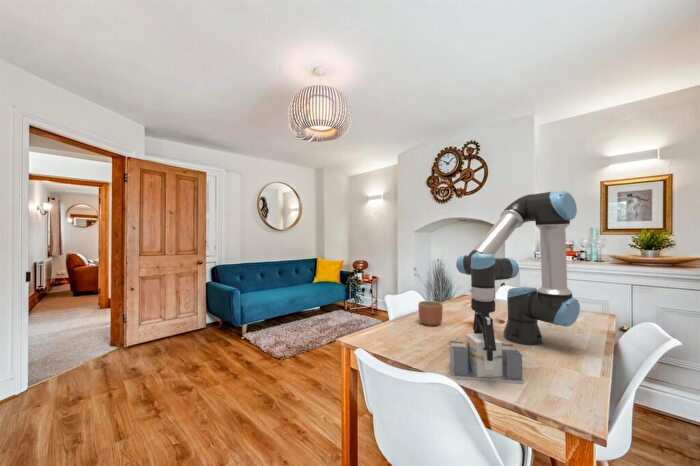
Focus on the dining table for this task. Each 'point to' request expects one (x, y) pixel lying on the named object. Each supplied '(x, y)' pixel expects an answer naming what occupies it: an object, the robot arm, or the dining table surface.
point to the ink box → (477, 356)
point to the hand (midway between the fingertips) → (483, 360)
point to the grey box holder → (509, 375)
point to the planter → (430, 312)
